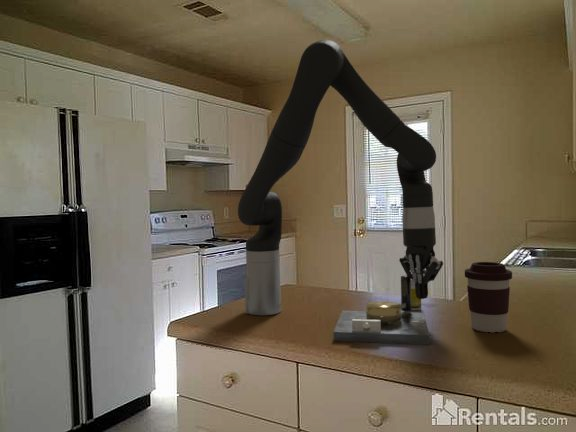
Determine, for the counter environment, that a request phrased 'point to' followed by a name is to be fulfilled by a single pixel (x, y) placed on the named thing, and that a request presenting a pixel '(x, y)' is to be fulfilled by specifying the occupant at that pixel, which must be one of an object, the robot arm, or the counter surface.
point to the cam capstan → (391, 305)
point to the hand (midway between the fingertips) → (421, 298)
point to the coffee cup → (488, 295)
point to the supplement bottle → (414, 298)
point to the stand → (382, 329)
